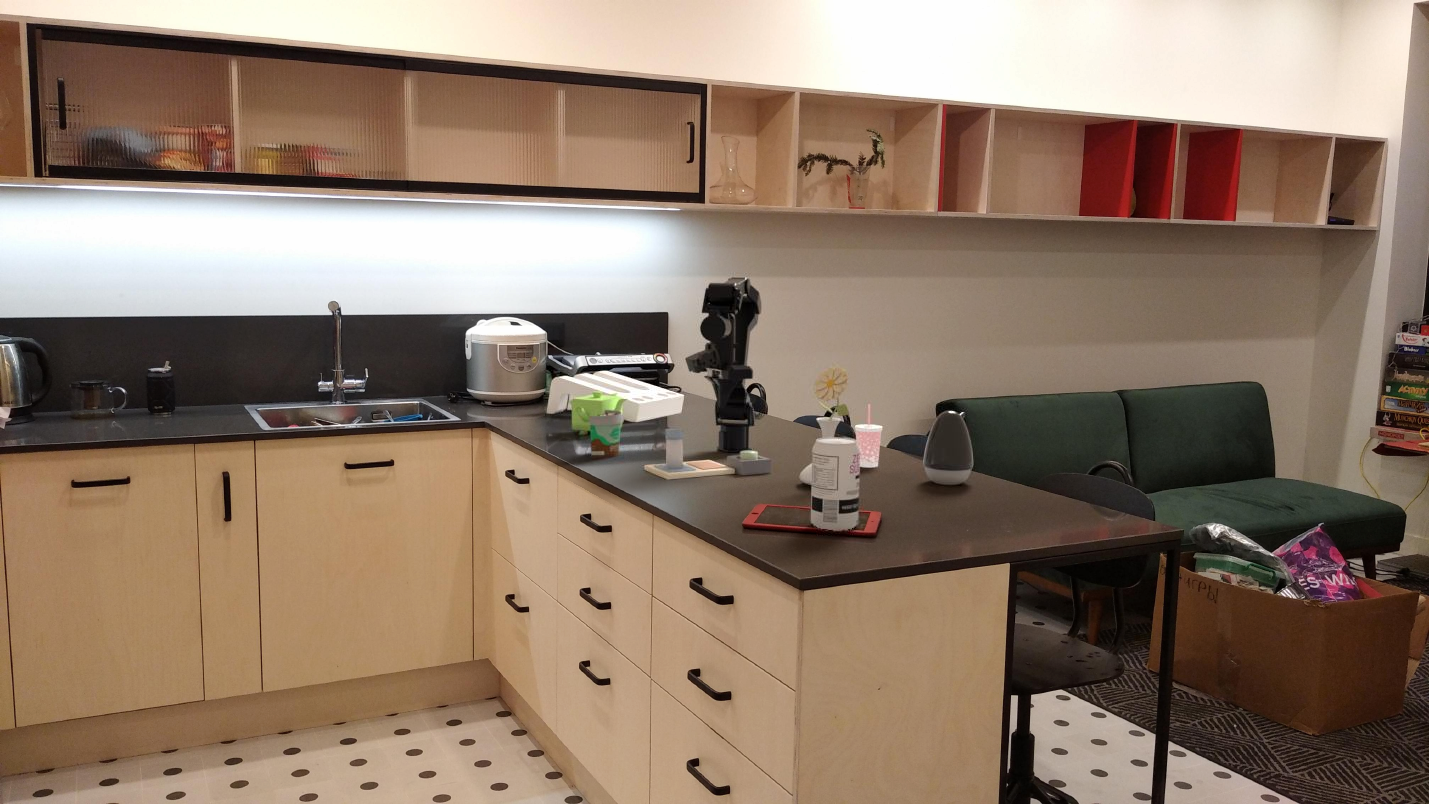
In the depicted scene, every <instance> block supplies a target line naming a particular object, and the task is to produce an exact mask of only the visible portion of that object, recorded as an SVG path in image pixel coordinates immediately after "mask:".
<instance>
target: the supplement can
mask: <svg viewBox="0 0 1429 804" xmlns="http://www.w3.org/2000/svg"><path fill="white" fill-rule="evenodd" d="M811 450H812V452H811V453H812V455H811V457H812V458H811V463H812V485H811V491H810V492H811V496H810V497H811V499H810V500H811V501H810V523H811V524H812V525H813V527H815V526H816V527H817V528H816V527H815V528H816V529H819V528H821V529H820V530H822V529H828V530H833V531H832V532H843V531H842V530H845V531H849V530H848V529H850V530H853V529H854V527H856V526H857V525H859V510H860V509H859V508H860V503H859V502H860V477H861V476H860V475H861V474H860V470H861V467H860V448H859V446H858V444H857V439H853V438H850V437H849V438H848V437H835V436H834V437H828V438H822V437H821V438H817V439H816V440H815V443H814V444H813V447H812V448H811ZM852 528H853V529H852ZM828 530H827V531H828Z"/></svg>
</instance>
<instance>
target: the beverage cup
mask: <svg viewBox="0 0 1429 804" xmlns="http://www.w3.org/2000/svg"><path fill="white" fill-rule="evenodd" d="M867 407H868V409H867V410H868V411H867V424H856V425H855V426H854V428H855V434H856V436H855V437H856V441H857V444H858V446H859V448H860V468H878V467H879V459H880V449H881V448H880V447H881V437H882V436H881V435H882V431H883V426H882V425H880V424H879V425H877V424H871V403H868V406H867Z"/></svg>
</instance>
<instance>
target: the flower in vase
mask: <svg viewBox="0 0 1429 804" xmlns="http://www.w3.org/2000/svg"><path fill="white" fill-rule="evenodd" d="M848 385H849V373H848V372H847V370H846V369H845V368H842V367H841V366H839V365H836V366H834V367H833V366H829V367H828V368H827V369H823V370H822V373H819V374H818V375H817V379H815V381H814V389H813V390H814V391H815V392H814V393H813V394H814V396H815V397H816V398H817V399H818V403H819V406H820V407H822V408H823V409H825V410H826V411H828V412H829V413H831V416H830V417H827V416H825V417H817V418H816V421H817V423H818V425H819V427H820V430H821V438H828V437H835V433H836V430H837V426H838V425H839V423H840V422H841V420H842V419H841V418H838V417H834V415H835V414H836V413H837V416H839V417H843V416H847V415H851V414H850V411H849V409H848V406H847V405H846V403H842V404H840V401H839V397H841V396H842V393H844V392H845V390H846V388H847V387H848ZM831 399H832V400H833V401H834V400H836V407H835V409H834V410H832V409H831V408H829V407H827V406H826V405H825V404H823V403H826V402H830V401H831ZM822 402H823V403H822ZM839 404H840V405H839ZM798 477H799V479H800V481H801V482H803V483H805V485H806V484H807V485H810V486H812V462H811V463H809V465H807V466H806V467H805V468H803V470H802V471H800V474H799V476H798Z"/></svg>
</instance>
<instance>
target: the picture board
mask: <svg viewBox="0 0 1429 804" xmlns="http://www.w3.org/2000/svg"><path fill="white" fill-rule="evenodd" d="M643 466H644V471H647V472H649V473H651V474H653V475H656V476H658V477H661V478H663V479H666V480H675V479H676V480H677V479H678V480H679V479H690V478H698V477H699V478H700V477H711V476H721V475H722V476H723V475H733V474H736V473H735V469H733V468H731V467H728V466H727V465H725V464H723V463H720V462H716V461H714V460H711V459H704V460H702V459H701V460H692V461H683V468H680V469H669V468H666V462H665V463H655V464H645V465H643Z"/></svg>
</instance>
